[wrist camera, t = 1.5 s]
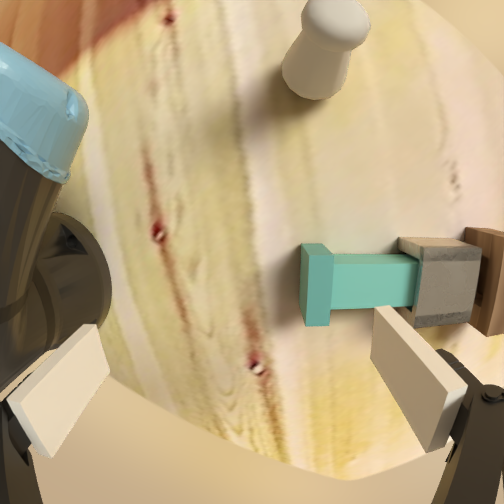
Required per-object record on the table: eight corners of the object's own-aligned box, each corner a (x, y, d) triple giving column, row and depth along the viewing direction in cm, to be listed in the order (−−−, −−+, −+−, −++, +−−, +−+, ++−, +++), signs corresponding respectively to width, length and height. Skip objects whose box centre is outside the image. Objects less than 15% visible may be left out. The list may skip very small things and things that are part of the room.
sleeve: (391, 306, 30) (413, 328, 25) (398, 237, 29) (424, 247, 23) (443, 303, 30) (469, 321, 25) (452, 238, 29) (482, 248, 23)
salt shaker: (350, 77, 26) (402, 17, 13) (317, 117, 27) (357, 69, 14) (302, 43, 25) (324, -34, 13) (267, 81, 26) (271, 12, 14)
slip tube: (298, 304, 30) (305, 326, 25) (301, 243, 29) (309, 255, 24) (421, 299, 30) (444, 318, 25) (427, 244, 29) (454, 255, 24)
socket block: (453, 312, 30) (486, 336, 23) (465, 227, 28) (505, 237, 21) (477, 309, 30) (510, 332, 23) (489, 228, 28) (528, 238, 21)
